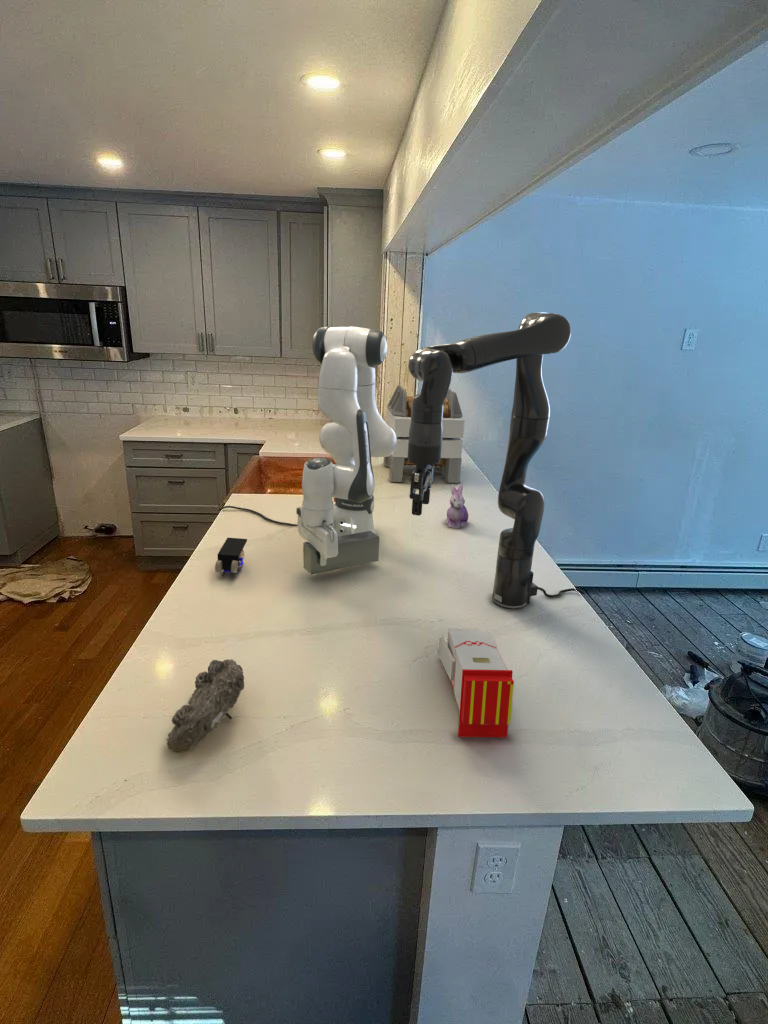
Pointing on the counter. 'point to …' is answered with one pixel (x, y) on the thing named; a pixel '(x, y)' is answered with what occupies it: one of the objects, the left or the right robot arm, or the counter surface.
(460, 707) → the toy
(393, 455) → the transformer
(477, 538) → the counter surface
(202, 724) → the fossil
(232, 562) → the figurine character
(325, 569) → the bar
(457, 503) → the figurine
